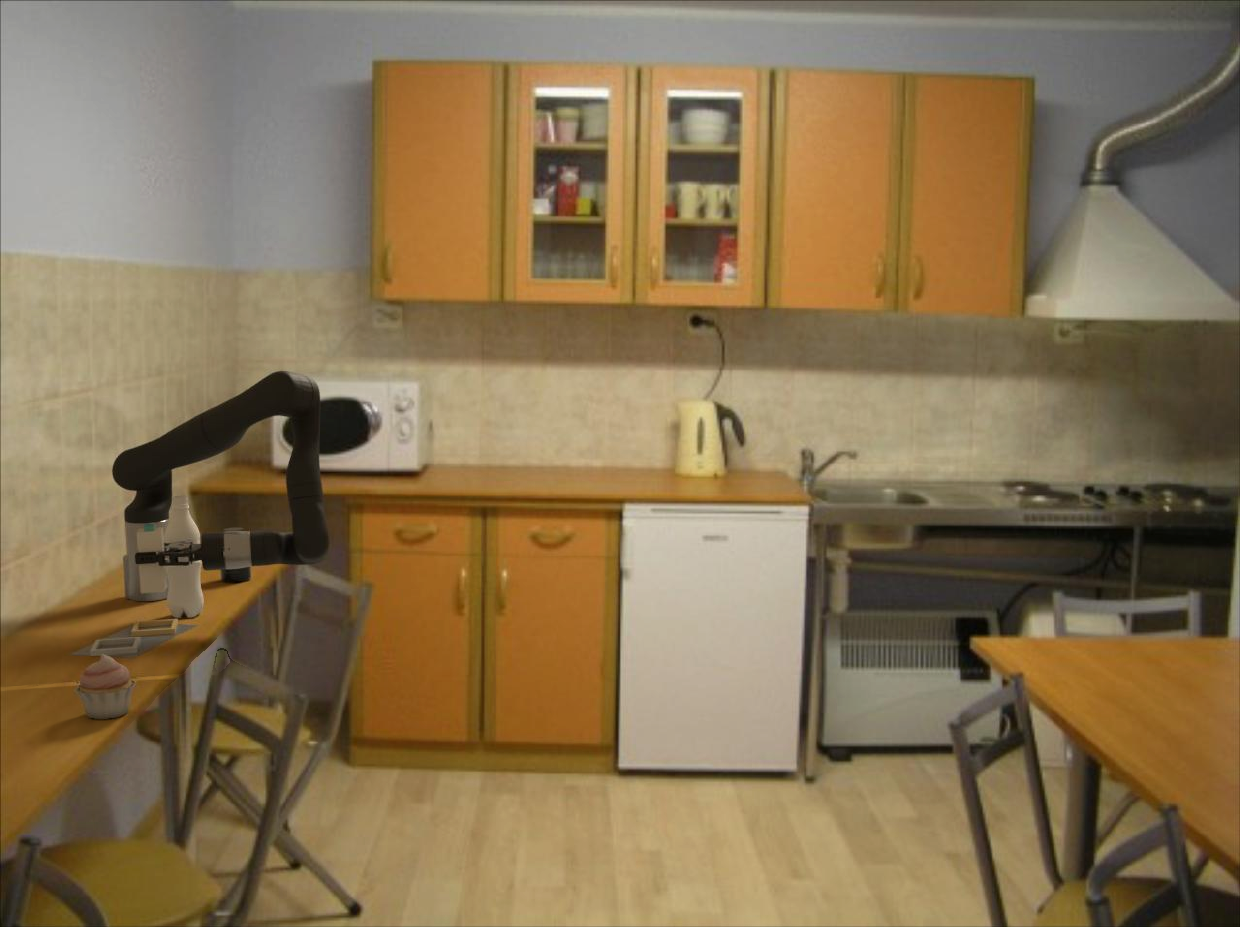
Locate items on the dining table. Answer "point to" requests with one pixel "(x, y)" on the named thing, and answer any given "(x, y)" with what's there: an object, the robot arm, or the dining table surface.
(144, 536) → the white tall box
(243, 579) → the supplement bottle
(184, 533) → the water bottle
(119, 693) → the cupcake
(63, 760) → the dining table surface
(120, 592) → the dining table surface
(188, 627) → the panel
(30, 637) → the dining table surface
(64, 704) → the dining table surface
